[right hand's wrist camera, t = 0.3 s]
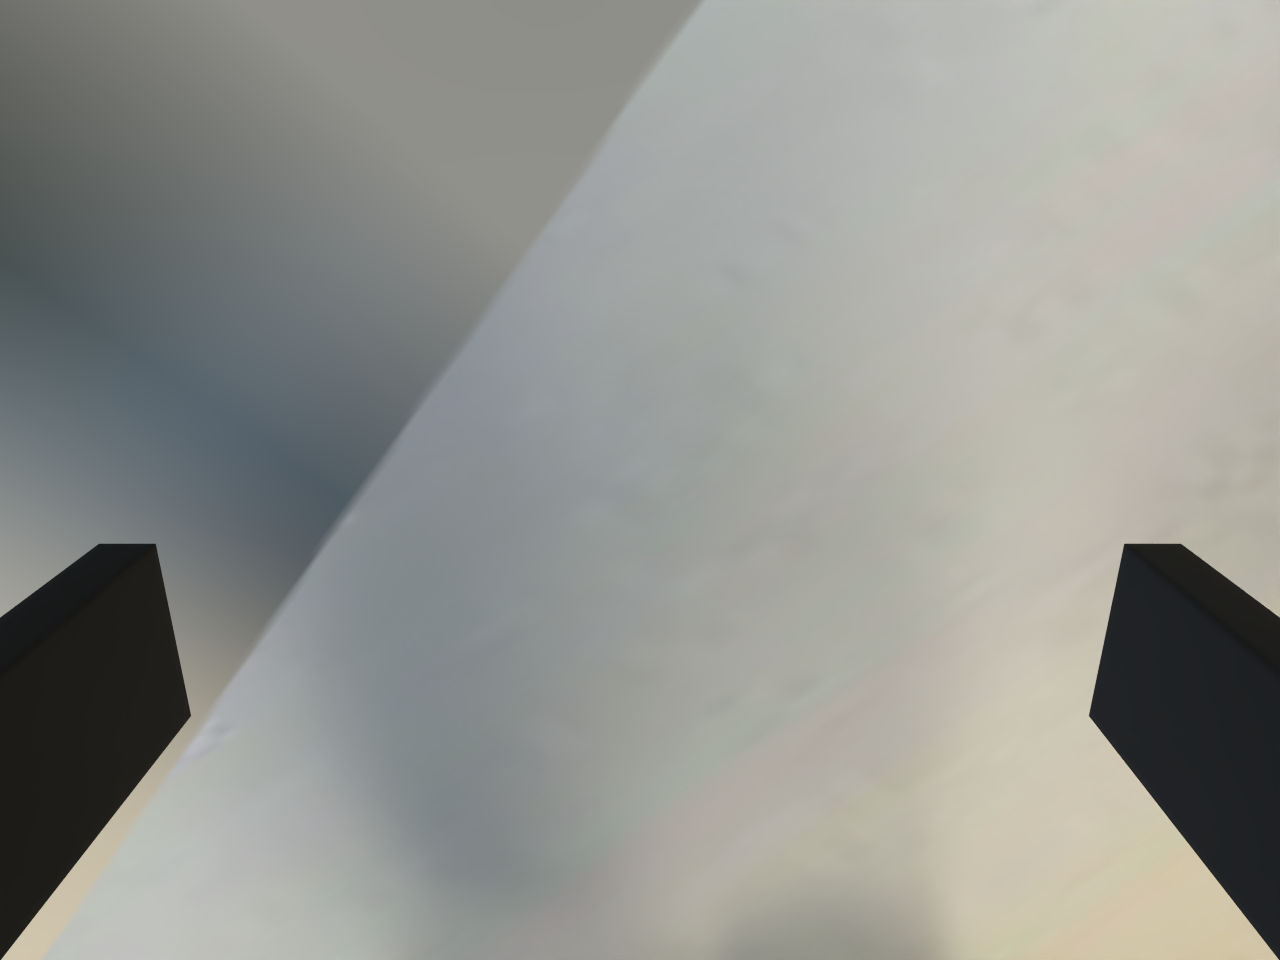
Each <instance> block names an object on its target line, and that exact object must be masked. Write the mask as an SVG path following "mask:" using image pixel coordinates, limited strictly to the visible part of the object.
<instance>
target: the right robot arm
mask: <svg viewBox="0 0 1280 960" xmlns="http://www.w3.org/2000/svg"><path fill="white" fill-rule="evenodd" d="M190 716H191V713H190V709H189V704H188V699H187V694H186V689H185V684H184V680H183V675H182V670H181V665H180V660H179V655H178V650H177V645H176V641H175V636H174V631H173V626H172V621H171V616H170V611H169V607H168V602H167V597H166V592H165V587H164V582H163V577H162V573H161V568H160V563H159V558H158V553H157V548H156V544H98V545H97V546H96V547H94V548H93V549H92V550H90V551H89V552H88V553H86V554H85V555H84V556H82V557H81V558H79V559H78V560H77V561H75V562H74V563H73V564H71V565H70V566H69V567H67V568H66V569H65V570H64V571H62V572H61V573H59V574H58V575H57V576H55V577H54V578H53V579H51V580H50V581H49V582H47V583H46V584H45V585H43V586H42V587H41V588H39V589H38V590H37V591H35V592H34V593H33V594H31V595H30V596H29V597H27V598H26V599H25V600H23V601H22V602H21V603H19V604H18V605H17V606H15V607H14V608H13V609H11V610H10V611H9V612H7V613H6V614H5V615H3V616H2V617H1V618H0V960H1V959H2V958H3V956H4V955H5V954H6V952H7V951H8V950H9V949H10V947H11V946H12V945H13V944H14V942H15V941H16V940H17V938H18V937H19V936H20V935H21V933H22V932H23V931H24V929H25V928H26V927H27V926H28V924H29V923H30V922H31V920H32V919H33V918H34V917H35V915H36V914H37V913H38V911H39V910H40V909H41V908H42V906H43V905H44V904H45V902H46V901H47V900H48V899H49V897H50V896H51V895H52V893H53V892H54V891H55V890H56V888H57V887H58V886H59V884H60V883H61V882H62V881H63V879H64V878H65V877H66V876H67V874H68V873H69V872H70V870H71V869H72V868H73V867H74V865H75V864H76V863H77V861H78V860H79V859H80V858H81V856H82V855H83V854H84V852H85V851H86V850H87V849H88V847H89V846H90V845H91V843H92V842H93V841H94V840H95V838H96V837H97V836H98V834H99V833H100V832H101V831H102V829H103V828H104V827H105V825H106V824H107V823H108V822H109V820H110V819H111V818H112V816H113V815H114V814H115V813H116V811H117V810H118V809H119V808H120V806H121V805H122V804H123V802H124V801H125V800H126V799H127V797H128V796H129V795H130V793H131V792H132V791H133V790H134V788H135V787H136V786H137V784H138V783H139V782H140V781H141V779H142V778H143V777H144V775H145V774H146V773H147V772H148V770H149V769H150V768H151V766H152V765H153V764H154V763H155V761H156V760H157V759H158V757H159V756H160V755H161V754H162V752H163V751H164V750H165V749H166V747H167V746H168V745H169V743H170V742H171V741H172V739H173V738H174V737H175V736H176V734H177V733H178V732H179V731H180V729H181V728H182V727H183V725H184V724H185V723H186V722H187V720H188V719H189V718H190ZM1089 716H1090V718H1091V719H1092V720H1093V722H1094V723H1095V724H1096V725H1097V727H1098V728H1099V729H1100V731H1101V732H1102V733H1103V734H1104V736H1105V737H1106V738H1107V740H1108V741H1109V742H1110V743H1111V745H1112V746H1113V747H1114V749H1115V750H1116V751H1117V752H1118V754H1119V755H1120V756H1121V757H1122V759H1123V760H1124V761H1125V763H1126V764H1127V765H1128V766H1129V768H1130V769H1131V770H1132V772H1133V773H1134V774H1135V775H1136V777H1137V778H1138V779H1139V781H1140V782H1141V783H1142V784H1143V786H1144V787H1145V788H1146V790H1147V791H1148V792H1149V793H1150V795H1151V796H1152V797H1153V799H1154V800H1155V801H1156V802H1157V804H1158V805H1159V806H1160V808H1161V809H1162V810H1163V811H1164V813H1165V814H1166V815H1167V817H1168V818H1169V819H1170V820H1171V822H1172V823H1173V824H1174V825H1175V827H1176V828H1177V829H1178V831H1179V832H1180V833H1181V834H1182V836H1183V837H1184V838H1185V840H1186V841H1187V842H1188V843H1189V845H1190V846H1191V847H1192V849H1193V850H1194V851H1195V852H1196V854H1197V855H1198V856H1199V858H1200V859H1201V860H1202V861H1203V863H1204V864H1205V865H1206V867H1207V868H1208V869H1209V870H1210V872H1211V873H1212V874H1213V876H1214V877H1215V878H1216V879H1217V881H1218V882H1219V883H1220V884H1221V886H1222V887H1223V888H1224V890H1225V891H1226V892H1227V893H1228V895H1229V896H1230V897H1231V899H1232V900H1233V901H1234V902H1235V904H1236V905H1237V906H1238V908H1239V909H1240V910H1241V911H1242V913H1243V914H1244V915H1245V917H1246V918H1247V919H1248V920H1249V922H1250V923H1251V924H1252V926H1253V927H1254V928H1255V929H1256V931H1257V932H1258V933H1259V935H1260V936H1261V937H1262V938H1263V940H1264V941H1265V942H1266V944H1267V945H1268V946H1269V947H1270V949H1271V950H1272V951H1273V952H1274V954H1275V955H1276V956H1277V958H1278V959H1279V960H1280V618H1279V617H1278V616H1277V615H1275V614H1274V613H1273V612H1271V611H1270V610H1269V609H1267V608H1266V607H1265V606H1263V605H1262V604H1261V603H1259V602H1258V601H1257V600H1255V599H1254V598H1253V597H1251V596H1250V595H1249V594H1247V593H1246V592H1245V591H1243V590H1242V589H1241V588H1239V587H1238V586H1237V585H1235V584H1234V583H1233V582H1231V581H1230V580H1229V579H1227V578H1226V577H1225V576H1223V575H1222V574H1221V573H1219V572H1218V571H1217V570H1215V569H1214V568H1213V567H1211V566H1210V565H1209V564H1207V563H1206V562H1205V561H1203V560H1202V559H1201V558H1199V557H1198V556H1196V555H1195V554H1194V553H1192V552H1191V551H1190V550H1188V549H1187V548H1186V547H1184V546H1183V545H1182V544H1124V548H1123V553H1122V558H1121V563H1120V568H1119V572H1118V577H1117V582H1116V587H1115V592H1114V597H1113V602H1112V606H1111V611H1110V616H1109V621H1108V626H1107V631H1106V636H1105V640H1104V645H1103V650H1102V655H1101V660H1100V665H1099V670H1098V675H1097V679H1096V684H1095V689H1094V694H1093V699H1092V704H1091V709H1090V713H1089Z"/></svg>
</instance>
